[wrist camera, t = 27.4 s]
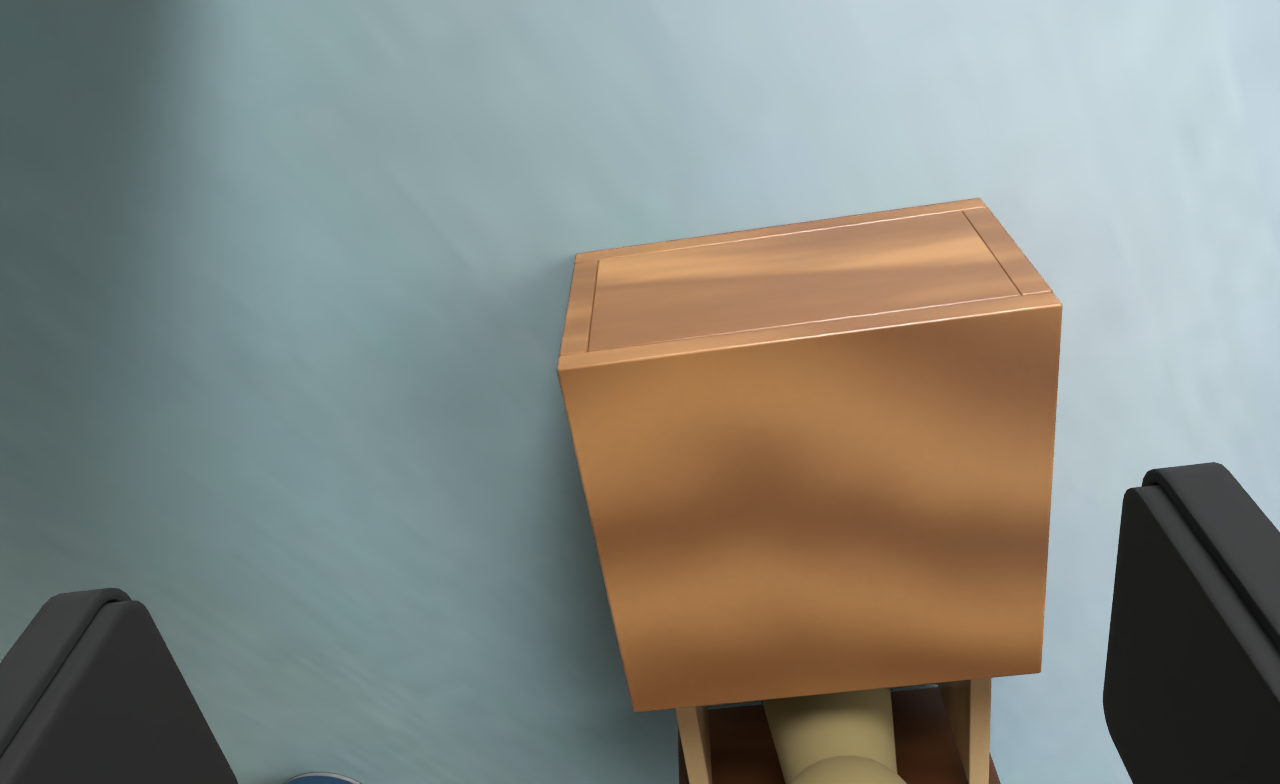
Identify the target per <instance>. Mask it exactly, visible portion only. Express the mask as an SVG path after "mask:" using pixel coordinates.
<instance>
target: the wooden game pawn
mask: <svg viewBox="0 0 1280 784" xmlns="http://www.w3.org/2000/svg"><path fill="white" fill-rule="evenodd" d="M762 703H763V706H764V710H765V713H766V717H767V720H768V724H769V727H770V731H771V734H772V738H773V741H774V745H775V748H776V752H777V755H778V759H779V762H780V766H781V769H782V773H783V776H784V780H785V783H786V784H907V783H906V782H905V781H904V780H903V779H902V778H901V777H900V776H899V775H898V774H897V765H896V752H895V740H894V728H893V716H892V703H891V691H890V688H880V689H870V690H860V691H850V692H839V693H829V694H819V695H809V696H798V697H788V698H778V699H768V700H762Z"/></svg>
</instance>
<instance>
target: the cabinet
mask: <svg viewBox="0 0 1280 784" xmlns="http://www.w3.org/2000/svg"><path fill="white" fill-rule="evenodd" d="M1061 321H1062V303H1061V302H1060V301H1059V300H1058V298H1057V297H1056V296H1055V294H1054V293H1053V291H1052V289H1051V288H1050V287H1049V285H1048V284H1047V283H1046V282H1045V280H1044V279H1043V278H1042V276H1041V275H1040V274H1039V273H1038V271H1037V270H1036V269H1035V267H1034V266H1033V265H1032V264H1031V262H1030V261H1029V260H1028V258H1027V257H1026V256H1025V255H1024V253H1023V252H1022V251H1021V249H1020V248H1019V247H1018V245H1017V244H1016V243H1015V242H1014V240H1013V239H1012V238H1011V236H1010V235H1009V234H1008V233H1007V231H1006V230H1005V229H1004V227H1003V226H1002V225H1001V224H1000V222H999V221H998V220H997V218H996V217H995V216H994V215H993V213H992V212H991V211H990V209H989V208H988V207H987V206H986V205H985V203H984V202H983V201H982V200H981V198H976V199H969V200H962V201H955V202H947V203H940V204H933V205H926V206H918V207H911V208H904V209H897V210H890V211H882V212H875V213H868V214H861V215H854V216H846V217H839V218H832V219H825V220H818V221H810V222H803V223H796V224H789V225H782V226H774V227H767V228H760V229H753V230H745V231H738V232H731V233H724V234H717V235H709V236H702V237H695V238H688V239H681V240H673V241H666V242H659V243H652V244H645V245H637V246H630V247H623V248H616V249H609V250H601V251H594V252H587V253H580V254H576V259H575V266H574V272H573V277H572V283H571V289H570V295H569V301H568V307H567V313H566V319H565V324H564V330H563V336H562V342H561V348H560V354H559V360H558V366H557V374H558V379H559V383H560V387H561V392H562V396H563V401H564V405H565V410H566V414H567V419H568V423H569V428H570V432H571V437H572V441H573V445H574V450H575V454H576V459H577V463H578V468H579V472H580V477H581V481H582V486H583V490H584V495H585V499H586V503H587V508H588V512H589V517H590V521H591V526H592V530H593V535H594V539H595V544H596V548H597V553H598V557H599V561H600V566H601V570H602V575H603V579H604V584H605V588H606V593H607V597H608V602H609V606H610V611H611V615H612V619H613V624H614V628H615V633H616V637H617V642H618V646H619V651H620V655H621V660H622V664H623V669H624V673H625V677H626V682H627V686H628V691H629V695H630V700H631V704H632V709H633V711H634V712H645V711H655V710H665V709H676V708H686V707H696V706H706V705H717V704H727V703H737V702H747V701H757V700H768V699H778V698H788V697H798V696H809V695H819V694H829V693H839V692H850V691H860V690H870V689H880V688H891V687H901V686H911V685H921V684H932V683H942V682H952V681H962V680H973V679H983V678H993V677H1003V676H1014V675H1024V674H1034V673H1040V672H1041V662H1042V645H1043V628H1044V611H1045V594H1046V577H1047V560H1048V543H1049V526H1050V509H1051V492H1052V474H1053V457H1054V440H1055V423H1056V406H1057V389H1058V372H1059V355H1060V338H1061Z"/></svg>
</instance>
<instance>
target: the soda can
mask: <svg viewBox="0 0 1280 784" xmlns="http://www.w3.org/2000/svg"><path fill="white" fill-rule="evenodd" d="M284 784H360V783H359V782H357V781H355V780H353V779H350V778H348V777H345V776H341V775H337V774H332V773H308V774H303V775H300V776H297V777H294V778H292V779H290V780H289V781H287V782H286V783H284Z"/></svg>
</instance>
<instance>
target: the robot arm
mask: <svg viewBox="0 0 1280 784" xmlns="http://www.w3.org/2000/svg"><path fill="white" fill-rule="evenodd" d="M1103 707H1104V714H1105V719H1106V723H1107V726H1108V730H1109V733H1110V735H1111V738H1112V740H1113V742H1114V744H1115V746H1116V748H1117V750H1118V753H1119V755H1120V757H1121V759H1122V761H1123V763H1124V765H1125V767H1126V769H1127V772H1128V774H1129V776H1130V778H1131V780H1132V782H1133V784H1280V532H1279V531H1278V530H1277V529H1276V527H1275V526H1274V525H1273V524H1272V522H1271V521H1270V520H1269V519H1268V518H1267V516H1266V515H1265V514H1264V513H1263V512H1262V510H1261V509H1260V508H1259V507H1258V506H1257V504H1256V503H1255V502H1254V501H1253V500H1252V498H1251V497H1250V496H1249V495H1248V493H1247V492H1246V491H1245V490H1244V489H1243V487H1242V486H1241V485H1240V484H1239V483H1238V481H1237V480H1236V479H1235V478H1234V477H1233V475H1232V474H1231V473H1230V472H1229V471H1228V470H1227V469H1226V468H1225V467H1224V466H1223V465H1222V464H1219V463H1215V462H1212V463H1204V464H1195V465H1186V466H1177V467H1168V468H1160V469H1152V470H1150V471H1148V472H1147V473H1146V475H1145V477H1144V478H1143V482H1142V487H1136V488H1130V489H1128V490H1127V491H1126V493H1125V494H1124V499H1123V505H1122V515H1121V525H1120V534H1119V544H1118V554H1117V564H1116V573H1115V583H1114V593H1113V603H1112V612H1111V622H1110V632H1109V642H1108V651H1107V661H1106V671H1105V681H1104V691H1103ZM0 784H238V782H237V780H236V777H235V775H234V773H233V771H232V769H231V768H230V766H229V764H228V762H227V760H226V758H225V756H224V754H223V752H222V750H221V748H220V747H219V745H218V743H217V741H216V739H215V737H214V735H213V733H212V731H211V729H210V728H209V726H208V724H207V722H206V720H205V718H204V716H203V714H202V712H201V710H200V709H199V707H198V705H197V703H196V701H195V699H194V697H193V695H192V693H191V691H190V689H189V688H188V686H187V684H186V682H185V680H184V678H183V676H182V674H181V672H180V670H179V669H178V667H177V665H176V663H175V661H174V659H173V657H172V655H171V653H170V651H169V650H168V648H167V646H166V644H165V642H164V640H163V638H162V636H161V634H160V632H159V631H158V629H157V627H156V625H155V623H154V621H153V619H152V617H151V615H150V613H149V611H148V610H147V609H146V607H145V606H144V604H142V603H141V602H139V601H133V600H131V599H130V597H129V596H128V595H127V593H125V592H123V591H122V590H120V589H117V588H106V589H97V590H88V591H79V592H71V593H62V594H58V595H56V596H53V597H51V598H50V599H49V600H48V601H47V602H46V603H45V604H44V605H43V606H42V608H41V609H40V610H39V612H38V613H37V614H36V616H35V617H34V618H33V620H32V621H31V622H30V624H29V625H28V626H27V628H26V629H25V630H24V632H23V633H22V634H21V636H20V637H19V639H18V640H17V641H16V643H15V644H14V645H13V647H12V648H11V649H10V651H9V652H8V653H7V655H6V656H5V657H4V659H3V660H2V661H1V663H0Z"/></svg>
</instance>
